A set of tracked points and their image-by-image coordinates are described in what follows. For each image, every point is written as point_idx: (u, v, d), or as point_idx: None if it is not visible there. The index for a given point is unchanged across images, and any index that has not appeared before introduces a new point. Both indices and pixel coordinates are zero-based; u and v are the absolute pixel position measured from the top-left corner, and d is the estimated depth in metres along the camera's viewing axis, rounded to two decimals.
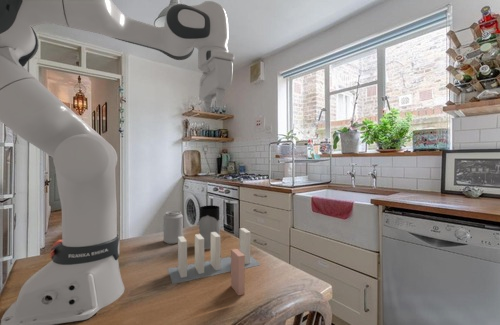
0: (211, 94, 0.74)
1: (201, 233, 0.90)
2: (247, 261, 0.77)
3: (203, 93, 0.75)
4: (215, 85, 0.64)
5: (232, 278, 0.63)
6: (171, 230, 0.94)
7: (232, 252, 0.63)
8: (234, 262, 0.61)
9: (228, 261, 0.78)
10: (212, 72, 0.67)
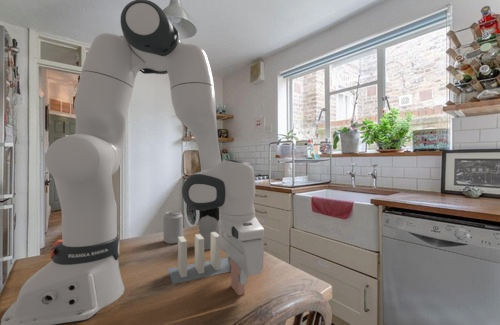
0: None
1: (201, 233, 0.90)
2: None
3: (224, 249, 0.65)
4: (243, 270, 0.54)
5: (232, 278, 0.63)
6: (171, 230, 0.94)
7: None
8: (234, 262, 0.61)
9: None
10: (238, 245, 0.57)
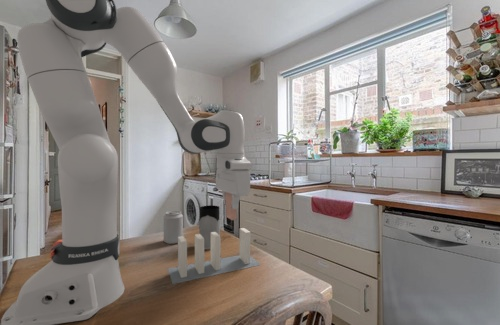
0: None
1: (201, 233, 0.90)
2: (247, 261, 0.77)
3: (220, 187, 0.80)
4: (234, 193, 0.69)
5: (226, 208, 0.78)
6: (171, 230, 0.94)
7: None
8: (228, 194, 0.76)
9: (228, 261, 0.78)
10: (230, 177, 0.72)
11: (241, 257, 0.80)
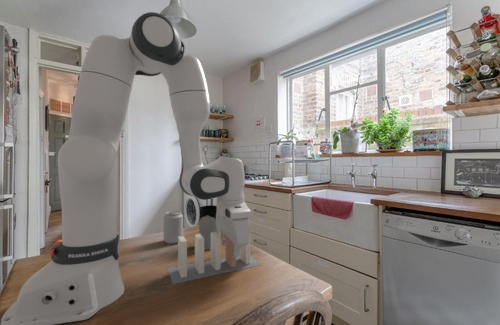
0: None
1: (201, 233, 0.90)
2: (247, 261, 0.77)
3: (220, 229, 0.80)
4: (234, 242, 0.70)
5: (226, 253, 0.78)
6: (171, 230, 0.94)
7: None
8: (228, 240, 0.77)
9: None
10: (230, 224, 0.73)
11: (241, 257, 0.80)
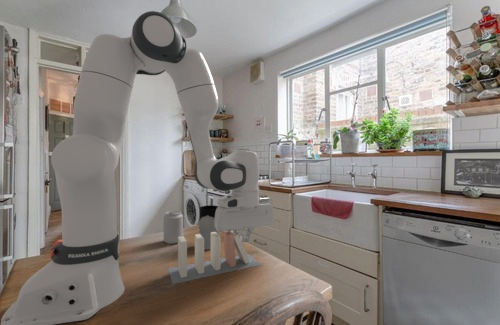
0: None
1: (201, 233, 0.90)
2: (245, 261, 0.77)
3: None
4: None
5: (225, 253, 0.78)
6: (171, 230, 0.94)
7: (224, 233, 0.77)
8: (226, 240, 0.76)
9: None
10: None
11: (240, 257, 0.79)
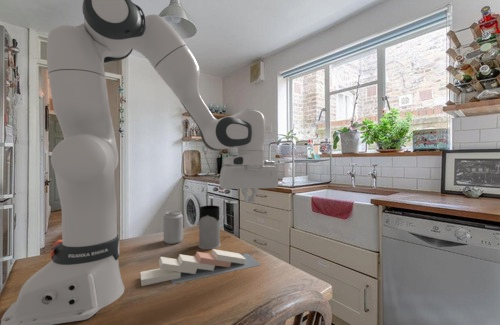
0: None
1: (201, 233, 0.90)
2: (242, 262, 0.76)
3: None
4: None
5: None
6: (171, 230, 0.94)
7: None
8: None
9: None
10: None
11: None
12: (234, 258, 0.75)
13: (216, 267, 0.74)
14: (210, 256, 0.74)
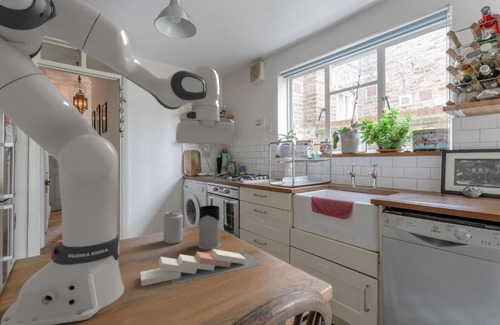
0: None
1: (201, 233, 0.90)
2: (242, 262, 0.76)
3: None
4: None
5: None
6: (171, 230, 0.94)
7: None
8: None
9: None
10: None
11: None
12: (234, 258, 0.75)
13: (216, 267, 0.74)
14: (210, 256, 0.74)
